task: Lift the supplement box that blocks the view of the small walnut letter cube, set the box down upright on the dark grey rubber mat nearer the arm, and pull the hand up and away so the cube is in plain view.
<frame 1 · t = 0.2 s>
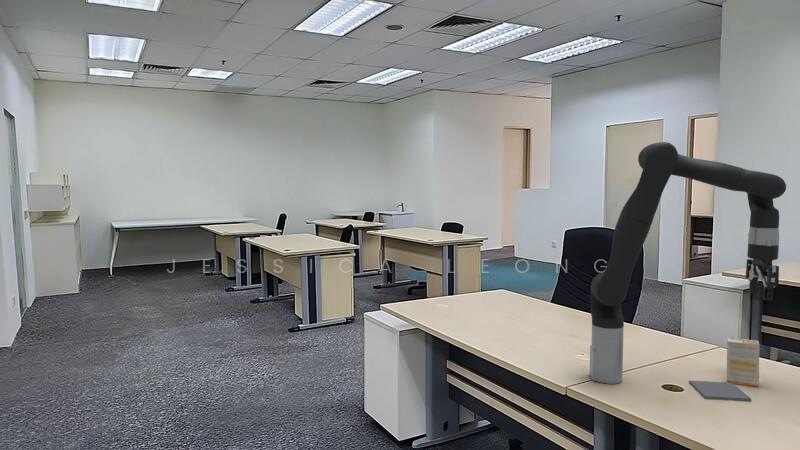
hand: (760, 296, 155), 27 cm above the table, tool pointing down, fingers open, 8 cm apart
letter cube: (737, 372, 168), on the table
supplement box: (741, 383, 160), on the table
rubber mat: (718, 391, 153), on the table
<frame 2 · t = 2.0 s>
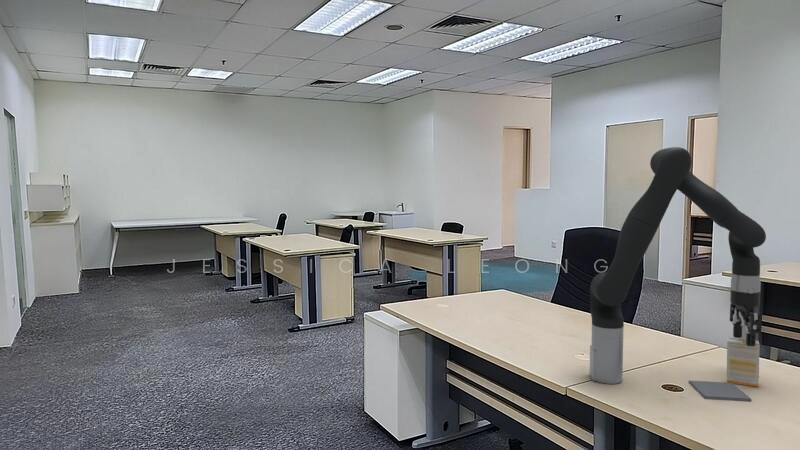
hand: (743, 341, 159), 13 cm above the table, tool pointing down, fingers open, 8 cm apart
nothing on the table moved.
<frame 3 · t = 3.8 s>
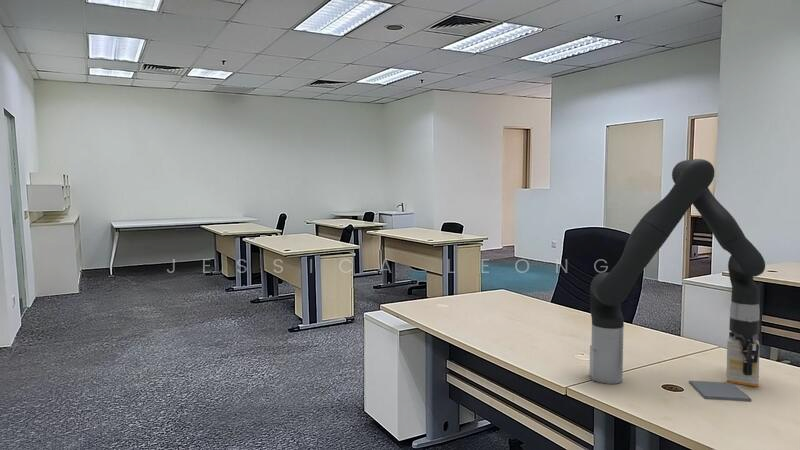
hand: (742, 370, 160), 4 cm above the table, tool pointing down, fingers closed on supplement box, 6 cm apart
supplement box: (741, 382, 160), on the table, touching gripper
everything else where it was.
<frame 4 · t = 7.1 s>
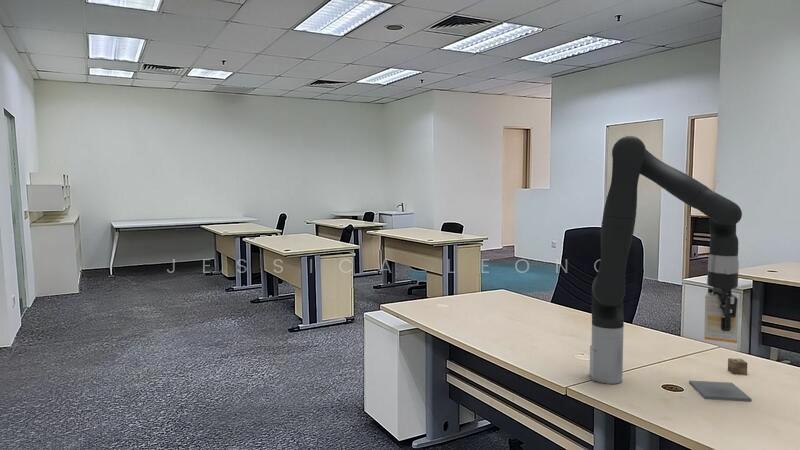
hand: (720, 327, 152), 19 cm above the table, tool pointing down, fingers closed on supplement box, 6 cm apart
supplement box: (720, 340, 152), point 15 cm above the table, touching gripper
everything else where it was.
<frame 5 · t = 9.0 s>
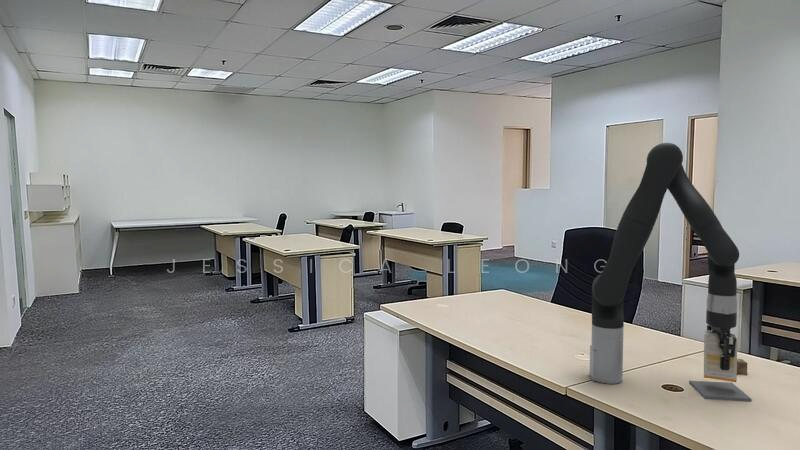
hand: (719, 365, 152), 8 cm above the table, tool pointing down, fingers closed on supplement box, 6 cm apart
supplement box: (719, 378, 153), point 4 cm above the table, touching gripper
everything else where it was.
when the fingers open (6 cm above the table, at t = 10.4 s): supplement box drops 1 cm, resting on rubber mat.
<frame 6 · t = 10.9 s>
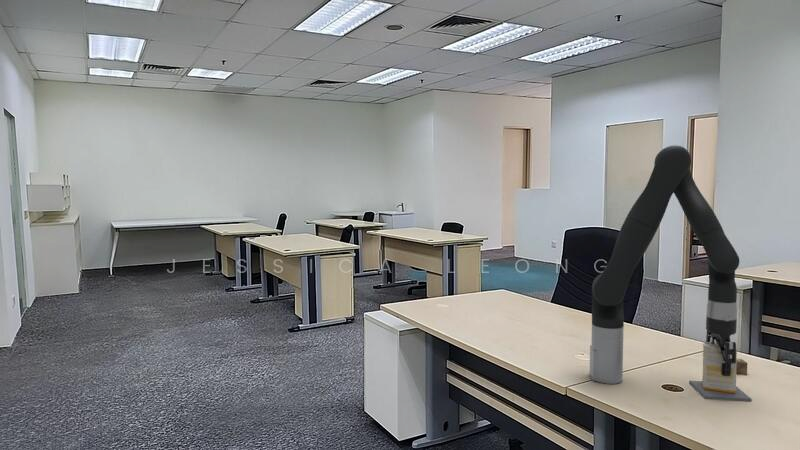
hand: (719, 370, 152), 6 cm above the table, tool pointing down, fingers open, 8 cm apart
supplement box: (718, 389, 153), point 1 cm above the table, touching rubber mat
everything else where it was.
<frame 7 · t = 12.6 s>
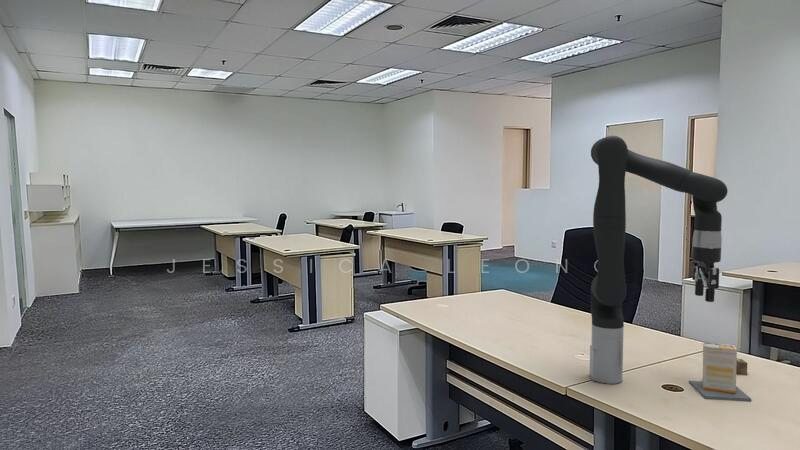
hand: (704, 298, 158), 26 cm above the table, tool pointing down, fingers open, 8 cm apart
nothing on the table moved.
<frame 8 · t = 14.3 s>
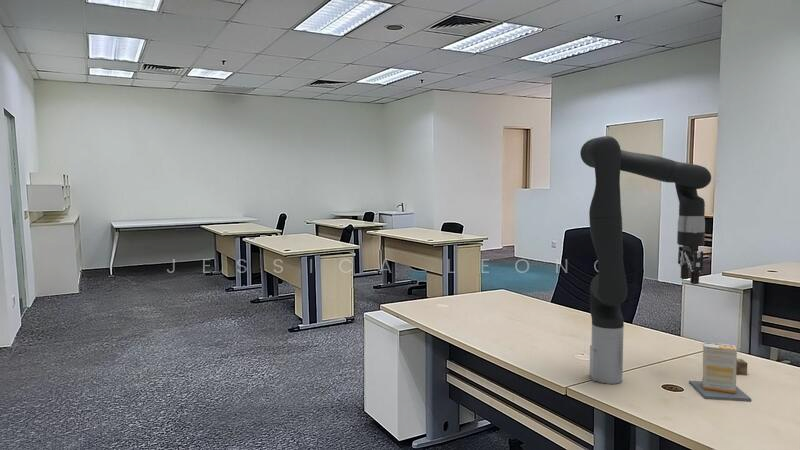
hand: (689, 281, 165), 30 cm above the table, tool pointing down, fingers open, 8 cm apart
nothing on the table moved.
at the end: supplement box inside the target area (0.2 cm from its centre), point 0.6 cm above the table; supplement box tilted 0°; the gripper is holding nothing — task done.
